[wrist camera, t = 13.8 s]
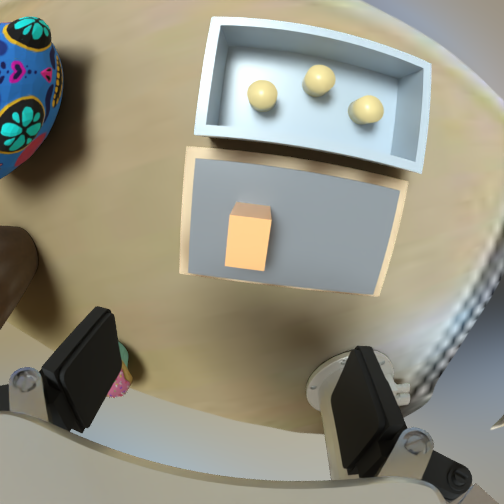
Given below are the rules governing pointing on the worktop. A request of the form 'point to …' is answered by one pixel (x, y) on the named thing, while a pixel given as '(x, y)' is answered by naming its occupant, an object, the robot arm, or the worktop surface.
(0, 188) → the worktop surface
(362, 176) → the mat
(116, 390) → the cupcake
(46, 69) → the ceramic pot
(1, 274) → the plant pot
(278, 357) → the worktop surface
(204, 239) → the lid
